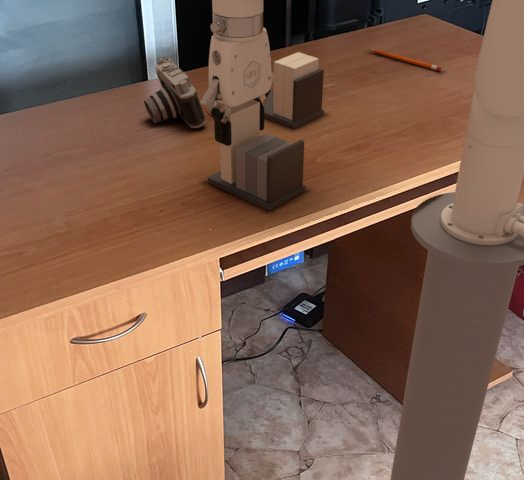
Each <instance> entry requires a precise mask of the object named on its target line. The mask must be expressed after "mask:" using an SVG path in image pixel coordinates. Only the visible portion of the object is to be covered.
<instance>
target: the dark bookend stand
mask: <svg viewBox="0 0 524 480" xmlns="http://www.w3.org/2000/svg"><path fill="white" fill-rule="evenodd" d="M319 61H320V58H318V57H315V56H312V55H308V54H305V53H302V52H300V51H298V52H295V53H292V54H290V55H288V56H284V57H282V58H280V59H278V60H274V62H273V73H275V74H276V78H275V80H274V82H273V91H272V90H271V91H270V93H269V95H268V97H267V104H266V105H265V106H264V119H267V120H269V121H273V122H275V123H277V124H280V125H282V126H285V127H287V128H289V129H290V128H291V129H293V130H295V129H297V128H299V127H301V126H303V125H305V124H308V123H309V122H311V121H314V120H316V119H318V118H320V117H322V116H324V115H325V109H323V91H324V74H325V73H324V72H325V70H324V69H323V68H319V64H320V63H319Z"/></svg>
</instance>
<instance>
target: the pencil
mask: <svg viewBox="0 0 524 480" xmlns="http://www.w3.org/2000/svg"><path fill="white" fill-rule="evenodd" d="M368 50H369V51H370V52H372V53H373V54H375V55H376V54H377V55H380V56H384V57H388V58H390V59H394V60H398V61H401V62H404V63H405V62H406V63H409V64H412V65H416V66H419V67H423V68H427V69H431V70H433V71H438V72H441V71H442V67H441V66H438V65H435V64H431V63H427V62H425V61H421V60H416V59H413V58H410V57H406V56H402V55H398V54H394V53H392V52H388V51H384V50H380V49H376V48H369V49H368Z"/></svg>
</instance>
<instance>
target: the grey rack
mask: <svg viewBox="0 0 524 480" xmlns="http://www.w3.org/2000/svg"><path fill="white" fill-rule="evenodd" d="M235 158H236V182H235V183H233V184H230V183H228V182H226V181H224V180H221V170H220V171H218V172H216V173H214V174H212V175H209V176H208V177H207V183H208V184H209V185H212V186H215V187H217V188H219V189H221V190H223V191H225V192H227V193H229V194H231V195H234V196H235V197H238V198H241V199H242V200H245V201H247V202H249V203H251V204H253V205H255V206H258V207H260V208H262V209H264V210H266V211H268V212H270V211H273V210H274V209H276V208H277V207H279V206H281V205H283V204H284V203H286V202H288V201H290V200H291V199H294V198H295V197H297V196H299V195H301V194H302V193H304V192H305V191H306V185H305V184H304V164H305V163H304V162H305V161H304V160H305V140H303V139H300V140H299V139H298V140H297V141H295V142H294V143H292V142H291V141H287V140H285V139H282V138H280V137H277V136H275V135H273V134H270V133H268V132H267V133H264V134H262V135H260V137H257V138H255V139H253V140H251V141H249V142H247V143H245V144H243V145H241V146H238V147H236V148H235Z"/></svg>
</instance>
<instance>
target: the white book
mask: <svg viewBox="0 0 524 480" xmlns="http://www.w3.org/2000/svg"><path fill="white" fill-rule="evenodd" d="M223 109H224V108H221V109H220V111H221V112H222V113H223ZM228 121H230V122H231V138H232V143H231V145H229V146H226V145H224V144H222V143H219V162H220V164H219V165H220V171H221V180H224V181H226V182H228V183H230V184H233V183H235V182H236V158H235V148H236V147H238V146H241V145H243V144H245V143H247V142H249V141H251V140H253V139H255V138H257V137H260V136H261V130H260V102H258V101H256V100H251V101H248V102H246V103H244V104H241V105H239V106H236V107H232V109H231V112H230V115H229V119H228Z"/></svg>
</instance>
